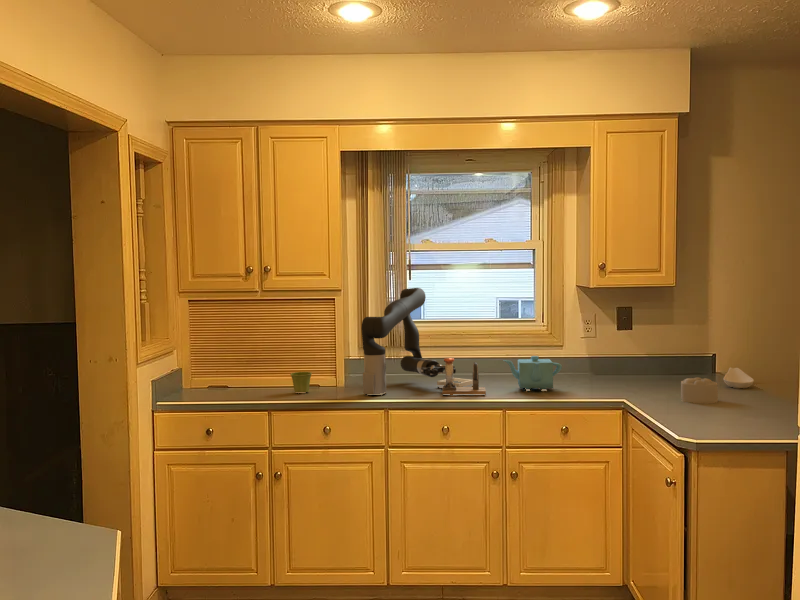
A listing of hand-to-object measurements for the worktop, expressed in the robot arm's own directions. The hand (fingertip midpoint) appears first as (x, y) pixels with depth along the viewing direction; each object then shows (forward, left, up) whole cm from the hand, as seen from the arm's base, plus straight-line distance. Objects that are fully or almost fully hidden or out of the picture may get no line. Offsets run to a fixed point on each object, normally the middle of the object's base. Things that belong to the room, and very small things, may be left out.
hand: (446, 371), depth 306 cm
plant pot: (-34, +53, -9) cm, 64 cm away
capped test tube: (-1, -3, -7) cm, 8 cm away
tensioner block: (+2, -8, -9) cm, 12 cm away
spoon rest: (+84, -94, -10) cm, 126 cm away
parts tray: (+15, +5, -9) cm, 18 cm away
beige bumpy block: (+39, -92, -9) cm, 101 cm away
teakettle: (+27, -27, -9) cm, 39 cm away
